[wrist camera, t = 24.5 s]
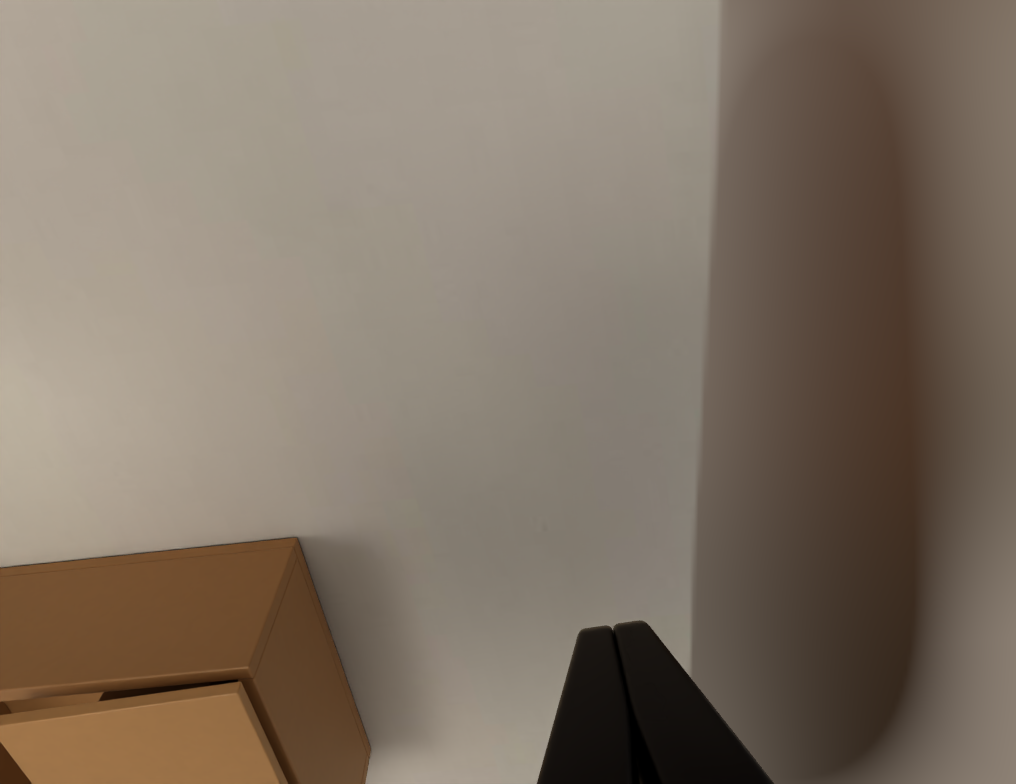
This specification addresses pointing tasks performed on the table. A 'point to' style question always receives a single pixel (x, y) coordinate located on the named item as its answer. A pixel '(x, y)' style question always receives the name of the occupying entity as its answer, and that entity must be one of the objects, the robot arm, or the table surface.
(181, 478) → the table surface
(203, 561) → the carton
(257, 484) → the table surface
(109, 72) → the table surface
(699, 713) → the robot arm
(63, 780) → the flap
